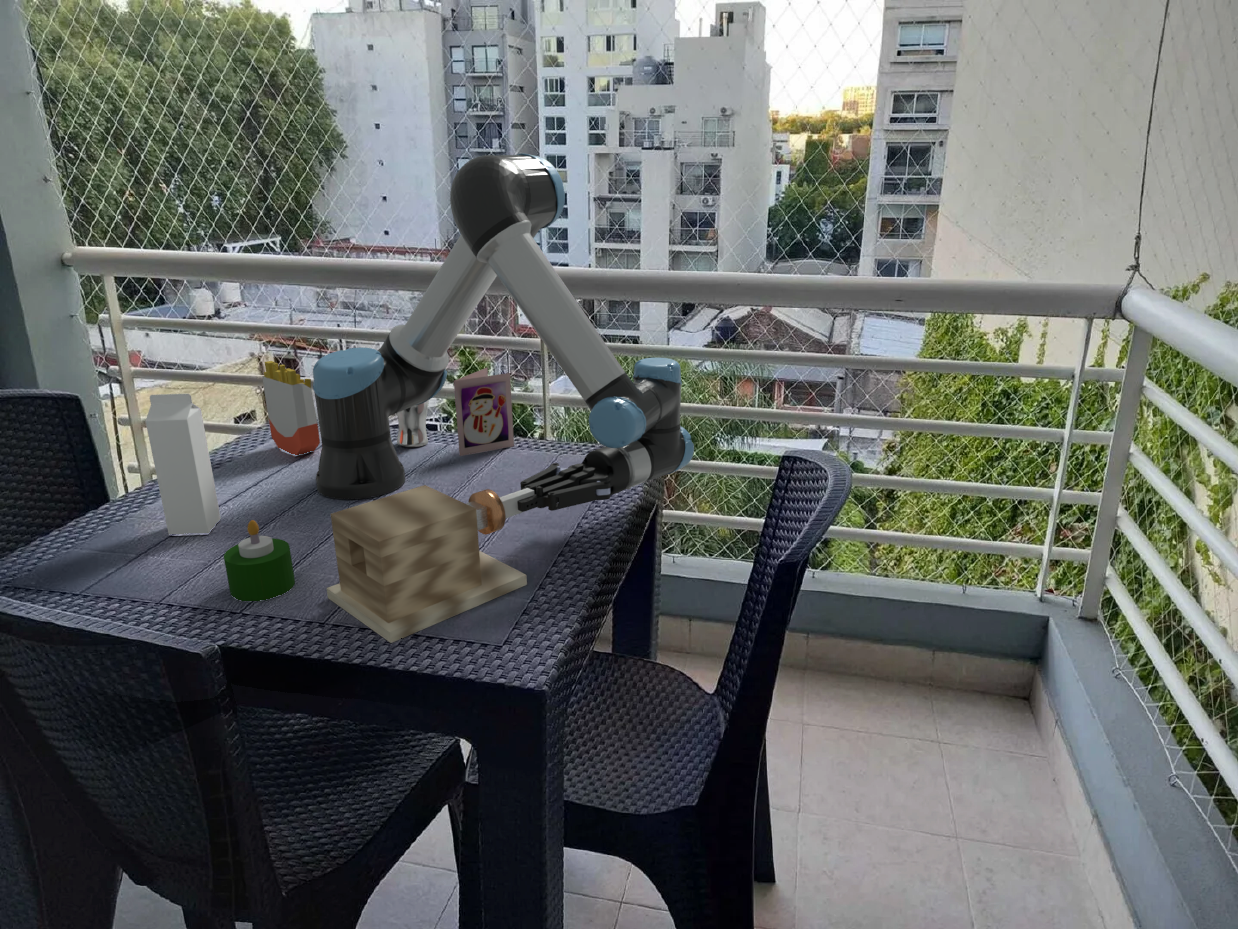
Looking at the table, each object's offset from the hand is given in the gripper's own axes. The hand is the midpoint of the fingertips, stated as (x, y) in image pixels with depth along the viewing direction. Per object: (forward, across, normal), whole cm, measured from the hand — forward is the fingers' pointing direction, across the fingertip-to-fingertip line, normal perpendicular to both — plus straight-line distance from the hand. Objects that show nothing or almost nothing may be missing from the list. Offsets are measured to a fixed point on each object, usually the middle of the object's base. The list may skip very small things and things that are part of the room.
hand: (495, 510), depth 123 cm
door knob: (+8, 0, -3) cm, 9 cm away
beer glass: (-21, +56, -8) cm, 61 cm away
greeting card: (-30, +44, -9) cm, 54 cm away
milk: (+26, +45, -9) cm, 52 cm away
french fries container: (-3, +69, -9) cm, 69 cm away
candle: (+27, +18, -9) cm, 33 cm away
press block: (+12, 0, -8) cm, 14 cm away
